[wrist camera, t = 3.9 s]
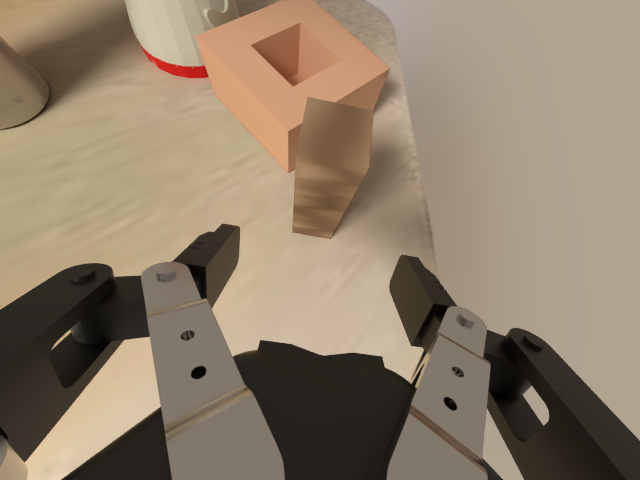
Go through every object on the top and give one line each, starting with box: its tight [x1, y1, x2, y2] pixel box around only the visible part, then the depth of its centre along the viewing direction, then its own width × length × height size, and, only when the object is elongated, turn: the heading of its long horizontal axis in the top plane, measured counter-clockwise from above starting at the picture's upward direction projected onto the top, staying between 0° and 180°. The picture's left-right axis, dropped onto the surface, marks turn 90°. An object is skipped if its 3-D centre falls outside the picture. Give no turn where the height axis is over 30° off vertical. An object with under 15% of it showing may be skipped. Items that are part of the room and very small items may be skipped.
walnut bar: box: [292, 97, 374, 239], centre depth 21 cm, size 4×4×14 cm
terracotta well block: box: [195, 0, 390, 173], centre depth 29 cm, size 15×15×7 cm
